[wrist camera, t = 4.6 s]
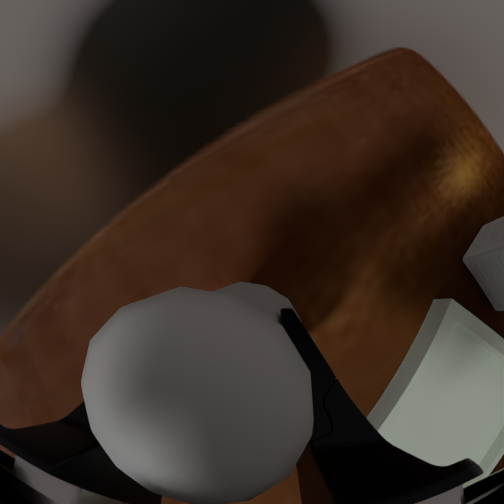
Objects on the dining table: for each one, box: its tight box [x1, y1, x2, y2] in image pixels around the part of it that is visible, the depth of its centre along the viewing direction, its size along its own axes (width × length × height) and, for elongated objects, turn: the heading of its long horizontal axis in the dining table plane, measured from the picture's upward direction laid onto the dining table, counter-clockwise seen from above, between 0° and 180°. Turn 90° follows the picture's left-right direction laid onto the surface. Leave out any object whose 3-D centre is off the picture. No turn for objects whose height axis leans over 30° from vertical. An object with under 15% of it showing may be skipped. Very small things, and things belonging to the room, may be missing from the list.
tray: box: [367, 299, 504, 488], centre depth 14 cm, size 16×16×2 cm
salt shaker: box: [81, 282, 314, 504], centre depth 10 cm, size 6×6×13 cm
